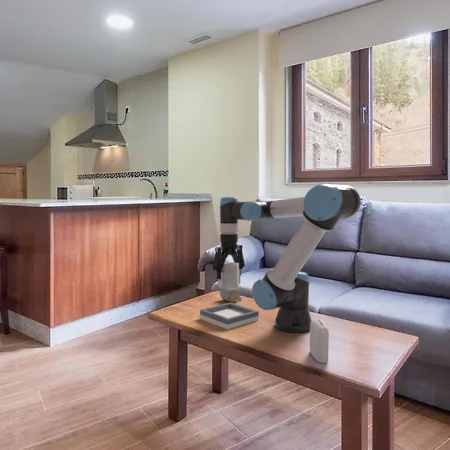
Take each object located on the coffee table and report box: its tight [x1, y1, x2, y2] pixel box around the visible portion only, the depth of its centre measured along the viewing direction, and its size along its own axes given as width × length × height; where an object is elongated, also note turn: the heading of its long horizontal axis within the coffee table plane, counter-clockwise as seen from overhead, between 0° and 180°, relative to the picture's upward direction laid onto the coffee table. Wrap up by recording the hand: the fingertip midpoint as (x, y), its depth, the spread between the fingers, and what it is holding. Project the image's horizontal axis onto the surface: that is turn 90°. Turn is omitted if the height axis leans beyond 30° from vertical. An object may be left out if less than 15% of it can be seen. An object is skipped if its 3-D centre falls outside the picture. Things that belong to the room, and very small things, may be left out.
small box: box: [218, 261, 240, 290], centre depth 165 cm, size 8×6×10 cm
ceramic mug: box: [219, 288, 243, 303], centre depth 197 cm, size 11×8×8 cm
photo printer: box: [309, 318, 330, 364], centre depth 128 cm, size 10×4×12 cm, turn 3°
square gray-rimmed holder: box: [199, 302, 260, 330], centre depth 166 cm, size 18×18×4 cm
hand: (229, 285), depth 166 cm, fingers closed on small box, 9 cm apart
